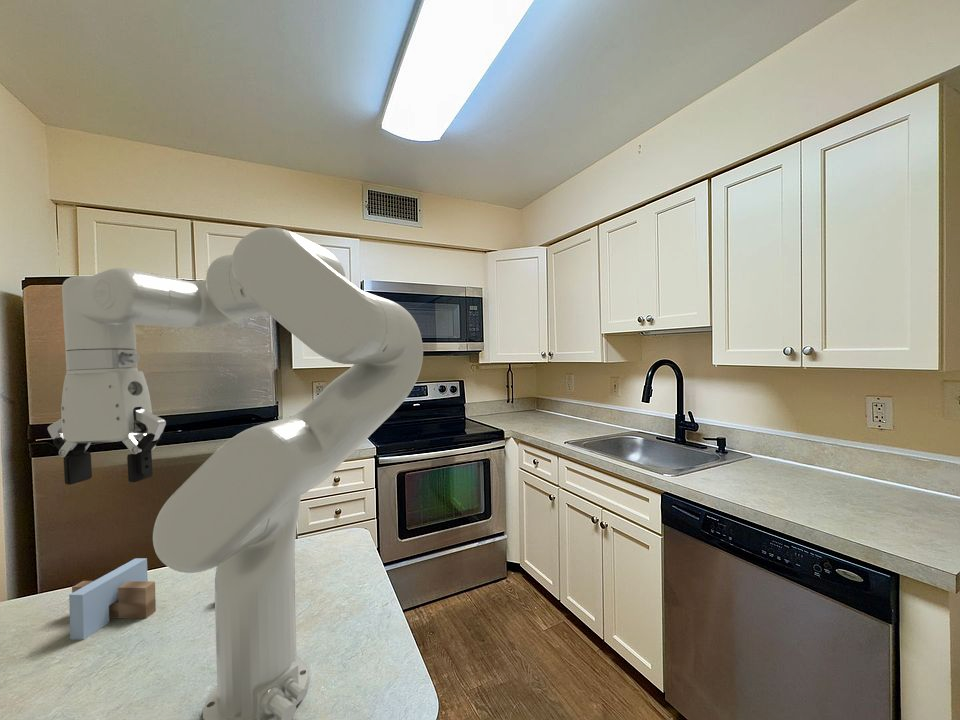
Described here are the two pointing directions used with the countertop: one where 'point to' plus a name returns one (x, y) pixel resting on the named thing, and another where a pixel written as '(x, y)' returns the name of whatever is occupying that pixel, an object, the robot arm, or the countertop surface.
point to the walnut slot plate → (130, 599)
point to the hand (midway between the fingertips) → (109, 480)
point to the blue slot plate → (101, 598)
